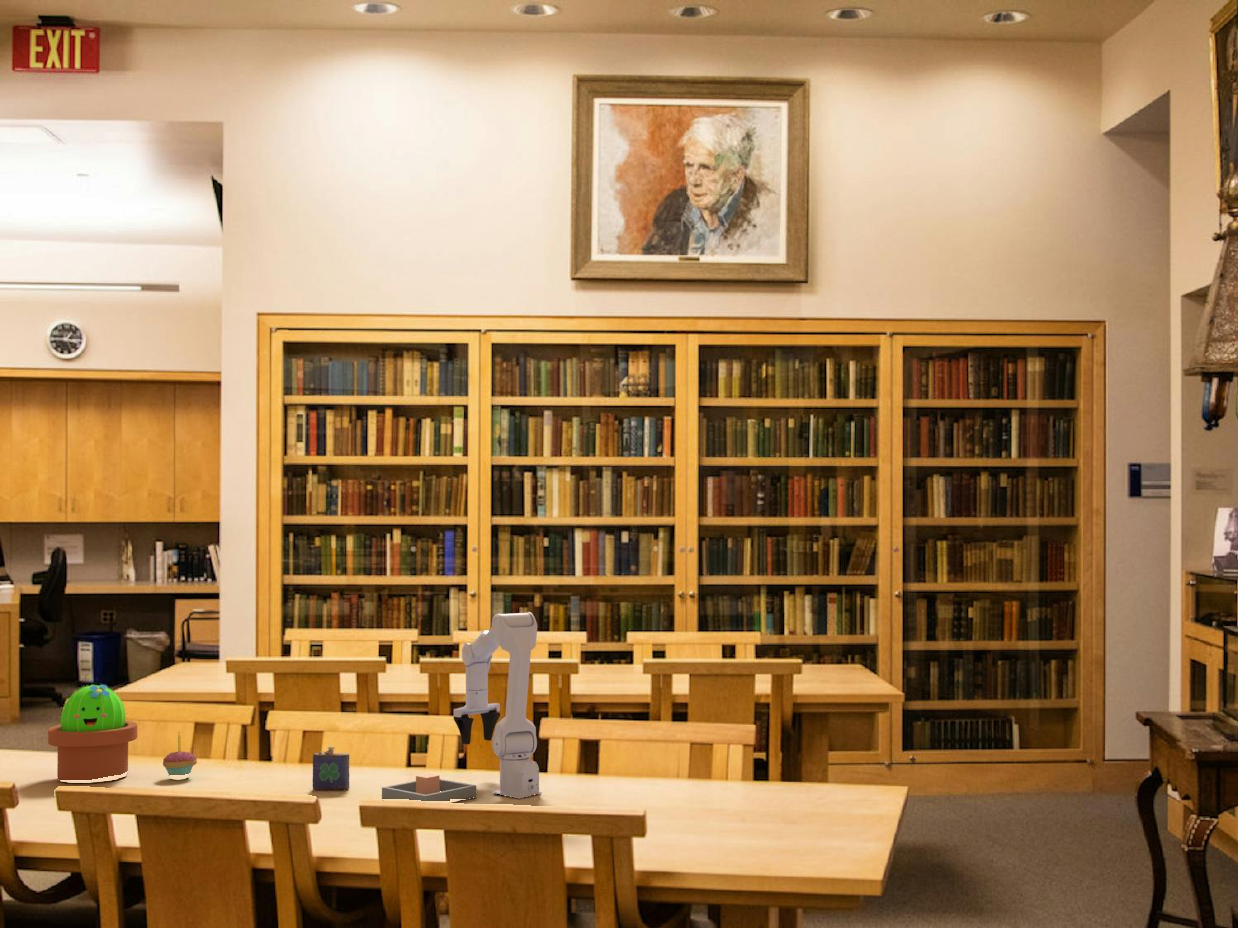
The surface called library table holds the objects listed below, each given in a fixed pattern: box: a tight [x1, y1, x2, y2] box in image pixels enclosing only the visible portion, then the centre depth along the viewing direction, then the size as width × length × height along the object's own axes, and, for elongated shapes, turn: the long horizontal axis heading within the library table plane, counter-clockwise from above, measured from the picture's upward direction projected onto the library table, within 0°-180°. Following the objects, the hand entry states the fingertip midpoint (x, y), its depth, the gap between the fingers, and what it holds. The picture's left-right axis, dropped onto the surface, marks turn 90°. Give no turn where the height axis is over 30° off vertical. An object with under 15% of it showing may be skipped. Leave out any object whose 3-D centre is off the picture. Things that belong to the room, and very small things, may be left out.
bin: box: [381, 778, 477, 801], centre depth 331 cm, size 16×16×3 cm
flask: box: [312, 746, 350, 792], centre depth 344 cm, size 9×3×11 cm, turn 88°
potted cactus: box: [47, 684, 138, 781], centre depth 362 cm, size 22×22×25 cm
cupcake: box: [162, 731, 198, 776], centre depth 360 cm, size 9×8×12 cm
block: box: [415, 773, 441, 795], centre depth 331 cm, size 4×4×5 cm
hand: (477, 741), depth 357 cm, fingers open, 7 cm apart
